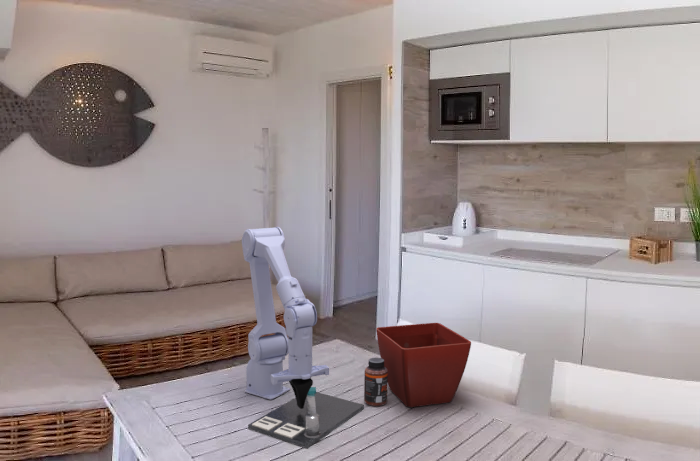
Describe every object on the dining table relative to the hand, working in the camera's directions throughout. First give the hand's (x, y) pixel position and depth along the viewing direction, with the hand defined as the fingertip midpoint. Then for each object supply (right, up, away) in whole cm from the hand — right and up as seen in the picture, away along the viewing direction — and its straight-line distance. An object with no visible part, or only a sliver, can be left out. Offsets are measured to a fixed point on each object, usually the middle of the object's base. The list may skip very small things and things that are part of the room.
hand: (300, 407), depth 144 cm
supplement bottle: (+19, -1, +8) cm, 20 cm away
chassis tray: (+2, -2, -1) cm, 3 cm away
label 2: (-2, -4, -10) cm, 11 cm away
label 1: (-7, -3, -6) cm, 10 cm away
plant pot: (+31, -1, +13) cm, 33 cm away
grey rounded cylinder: (+4, -4, -12) cm, 13 cm away
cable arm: (+3, -1, -3) cm, 4 cm away
